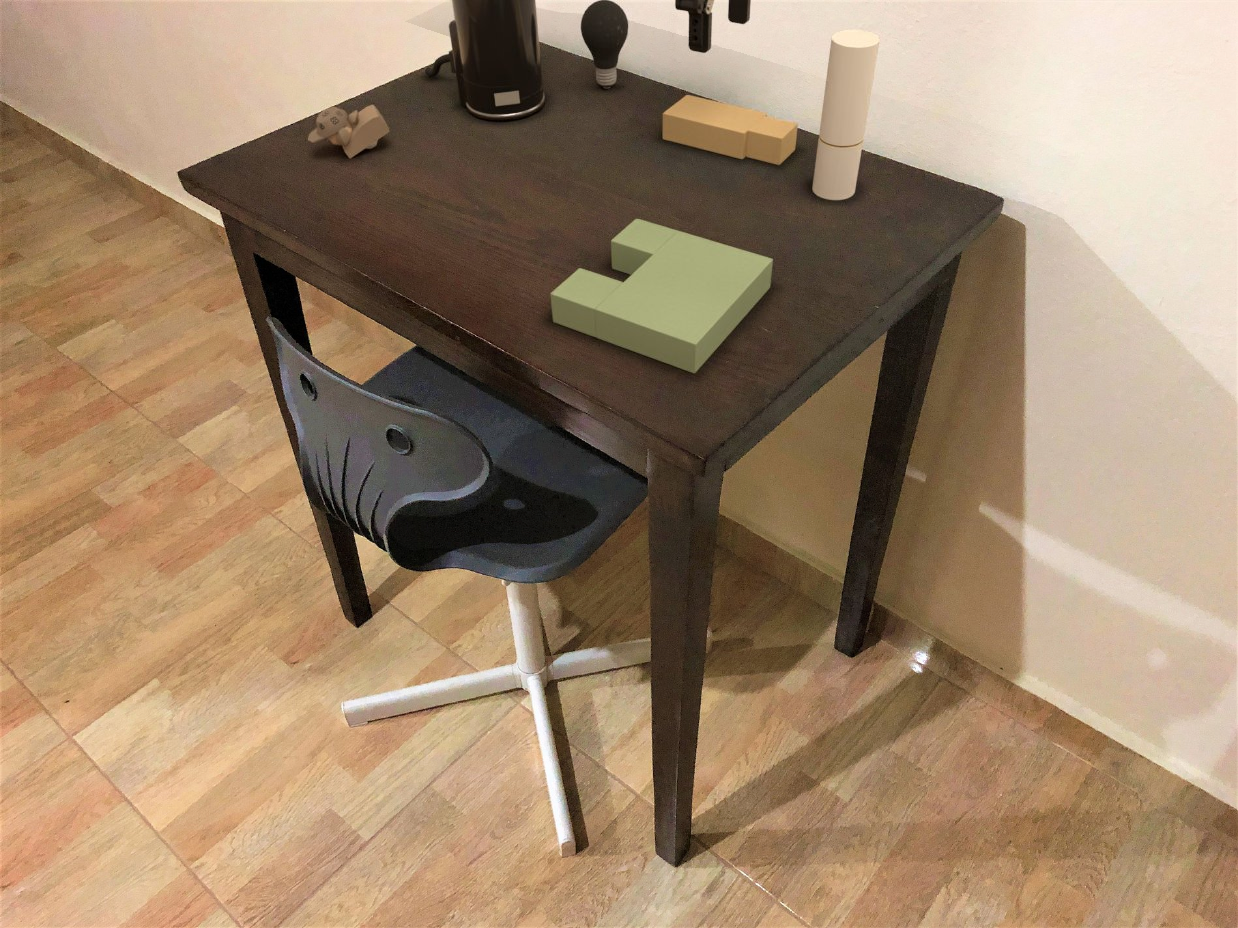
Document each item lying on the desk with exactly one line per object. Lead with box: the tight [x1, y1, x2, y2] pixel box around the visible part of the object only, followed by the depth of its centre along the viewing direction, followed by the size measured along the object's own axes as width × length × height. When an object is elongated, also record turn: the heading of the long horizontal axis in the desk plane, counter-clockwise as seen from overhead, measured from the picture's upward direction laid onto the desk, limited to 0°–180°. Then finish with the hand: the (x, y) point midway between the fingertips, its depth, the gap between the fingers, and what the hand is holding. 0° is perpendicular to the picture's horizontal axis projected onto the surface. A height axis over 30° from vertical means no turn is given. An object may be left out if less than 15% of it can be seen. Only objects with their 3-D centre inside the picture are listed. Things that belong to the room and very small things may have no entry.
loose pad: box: [662, 94, 799, 166], centre depth 102 cm, size 14×6×3 cm, turn 58°
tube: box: [812, 29, 881, 201], centre depth 90 cm, size 4×4×15 cm
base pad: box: [550, 218, 774, 374], centre depth 81 cm, size 14×14×3 cm
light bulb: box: [580, 0, 629, 89], centre depth 111 cm, size 6×6×10 cm
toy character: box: [307, 104, 390, 159], centre depth 103 cm, size 4×8×6 cm, turn 112°
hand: (719, 36), depth 96 cm, fingers open, 8 cm apart
